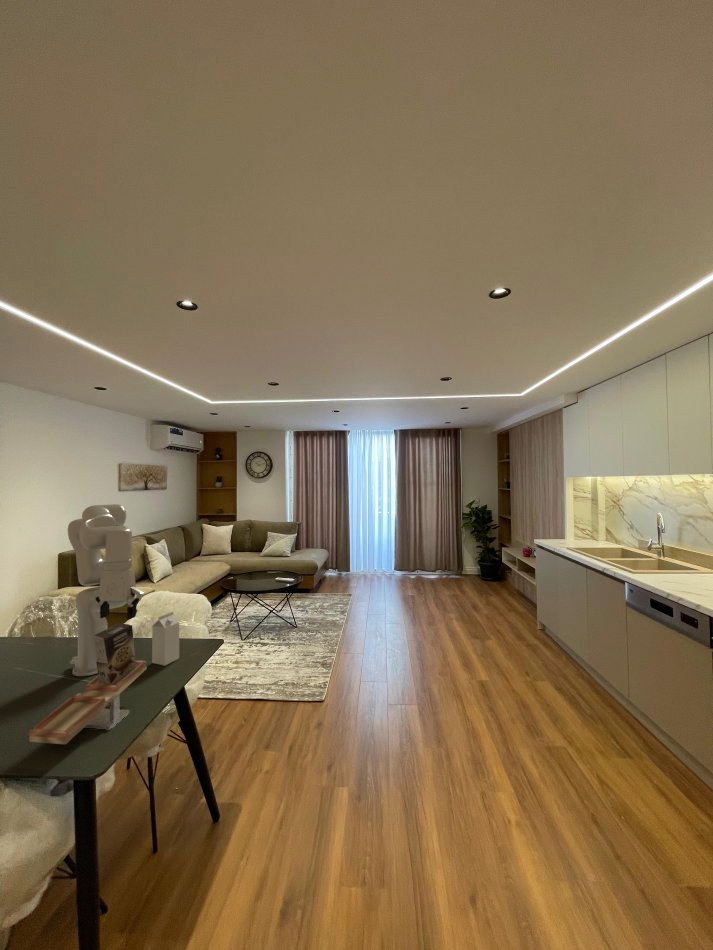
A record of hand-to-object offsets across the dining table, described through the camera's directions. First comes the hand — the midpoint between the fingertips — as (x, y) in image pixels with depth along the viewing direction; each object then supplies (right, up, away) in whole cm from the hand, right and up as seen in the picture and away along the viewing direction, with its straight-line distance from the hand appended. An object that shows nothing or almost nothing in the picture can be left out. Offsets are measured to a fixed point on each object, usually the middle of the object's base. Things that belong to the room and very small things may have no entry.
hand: (118, 617), depth 124 cm
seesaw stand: (-1, -28, -10) cm, 29 cm away
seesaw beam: (-1, -22, -10) cm, 24 cm away
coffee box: (0, -19, -1) cm, 20 cm away
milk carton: (+1, -29, +29) cm, 41 cm away
